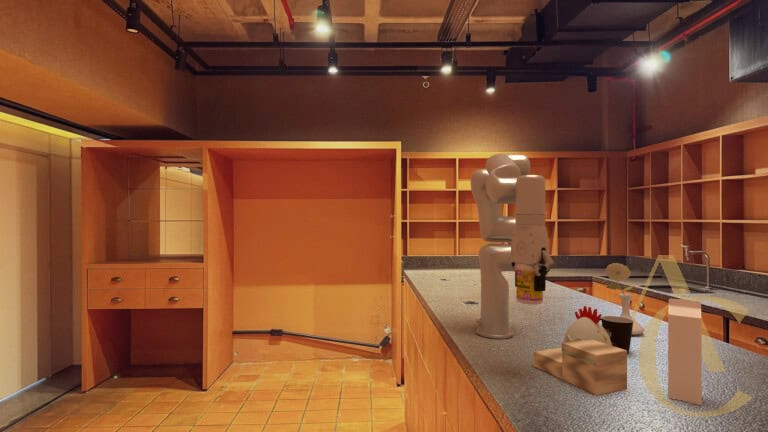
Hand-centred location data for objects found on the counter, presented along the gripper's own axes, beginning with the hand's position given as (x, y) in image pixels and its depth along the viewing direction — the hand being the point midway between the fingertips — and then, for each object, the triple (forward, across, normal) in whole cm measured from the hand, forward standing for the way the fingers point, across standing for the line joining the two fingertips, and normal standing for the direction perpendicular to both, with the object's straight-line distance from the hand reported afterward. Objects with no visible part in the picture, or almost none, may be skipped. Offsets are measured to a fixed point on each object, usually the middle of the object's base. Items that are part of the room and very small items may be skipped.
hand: (529, 288), depth 108 cm
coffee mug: (+22, -5, +37) cm, 44 cm away
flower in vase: (+22, -20, +59) cm, 66 cm away
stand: (+22, +7, +9) cm, 25 cm away
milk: (+22, +25, +22) cm, 40 cm away
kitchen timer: (+22, -3, +24) cm, 32 cm away
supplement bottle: (+4, 0, 0) cm, 4 cm away
